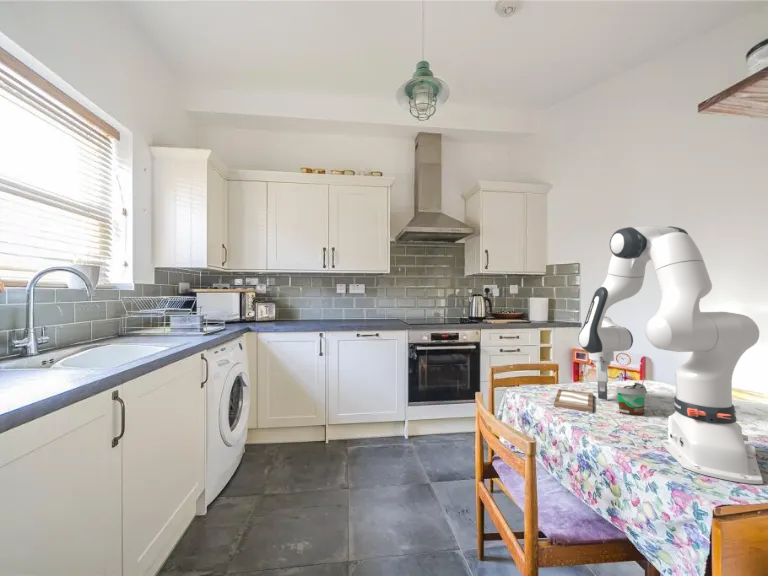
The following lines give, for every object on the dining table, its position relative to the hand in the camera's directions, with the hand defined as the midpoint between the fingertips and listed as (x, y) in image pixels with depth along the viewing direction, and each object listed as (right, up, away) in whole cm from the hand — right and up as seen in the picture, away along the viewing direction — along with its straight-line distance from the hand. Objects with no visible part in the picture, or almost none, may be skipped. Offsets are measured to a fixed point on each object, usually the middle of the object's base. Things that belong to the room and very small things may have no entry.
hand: (602, 388), depth 133 cm
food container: (+2, -5, -16) cm, 16 cm away
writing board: (-12, -5, 0) cm, 13 cm away
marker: (0, -5, 0) cm, 5 cm away
